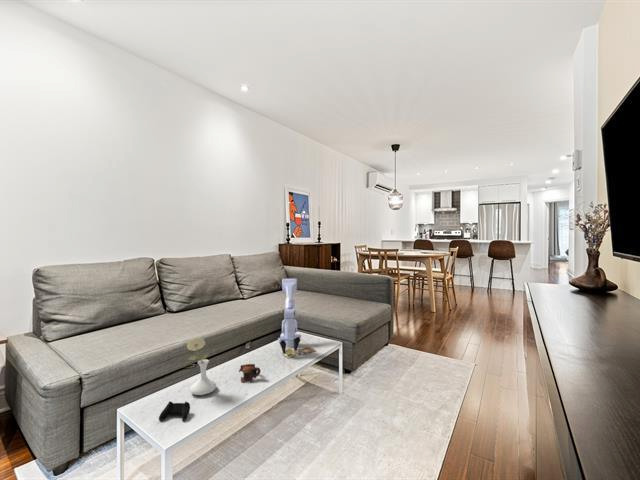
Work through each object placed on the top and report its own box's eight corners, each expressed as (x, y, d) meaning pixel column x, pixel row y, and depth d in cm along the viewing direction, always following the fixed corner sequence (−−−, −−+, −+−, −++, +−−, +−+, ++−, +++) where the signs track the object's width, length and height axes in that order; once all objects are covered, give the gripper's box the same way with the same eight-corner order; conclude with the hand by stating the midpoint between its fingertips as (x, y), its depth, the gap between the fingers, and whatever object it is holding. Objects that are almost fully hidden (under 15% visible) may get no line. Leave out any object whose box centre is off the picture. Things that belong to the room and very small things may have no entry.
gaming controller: (188, 423, 120) (193, 403, 125) (185, 420, 117) (190, 400, 122) (161, 423, 120) (167, 403, 125) (157, 419, 117) (163, 400, 122)
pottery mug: (234, 383, 149) (235, 365, 153) (244, 384, 157) (244, 367, 161) (256, 380, 146) (256, 361, 150) (265, 380, 154) (265, 363, 158)
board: (287, 360, 175) (287, 354, 175) (280, 355, 182) (280, 349, 182) (316, 353, 186) (316, 347, 186) (308, 348, 194) (308, 343, 194)
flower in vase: (218, 384, 147) (218, 332, 146) (214, 396, 135) (214, 341, 135) (189, 386, 144) (189, 334, 144) (183, 399, 133) (183, 342, 133)
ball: (286, 357, 179) (284, 351, 178) (287, 353, 182) (285, 347, 182) (292, 356, 178) (290, 350, 177) (293, 352, 182) (292, 346, 181)
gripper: (281, 333, 173) (281, 356, 173) (303, 328, 181) (303, 351, 181) (276, 329, 179) (276, 352, 179) (297, 325, 187) (297, 347, 187)
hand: (289, 351), depth 180 cm, fingers open, 7 cm apart
